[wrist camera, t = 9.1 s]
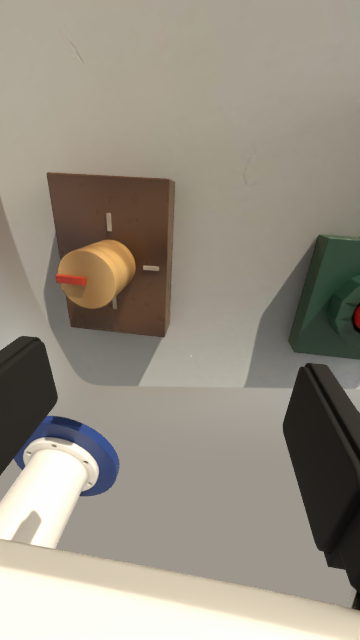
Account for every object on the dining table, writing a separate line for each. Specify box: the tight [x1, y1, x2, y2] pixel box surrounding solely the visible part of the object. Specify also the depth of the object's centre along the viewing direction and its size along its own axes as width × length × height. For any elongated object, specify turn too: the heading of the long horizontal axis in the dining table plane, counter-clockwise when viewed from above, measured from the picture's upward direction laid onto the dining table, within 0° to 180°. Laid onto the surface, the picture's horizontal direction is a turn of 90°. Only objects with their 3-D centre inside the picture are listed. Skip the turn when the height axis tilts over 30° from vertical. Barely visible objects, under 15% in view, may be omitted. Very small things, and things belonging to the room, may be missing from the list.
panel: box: [47, 172, 175, 337], centre depth 24 cm, size 14×10×3 cm
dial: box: [56, 240, 136, 309], centre depth 20 cm, size 4×4×5 cm
